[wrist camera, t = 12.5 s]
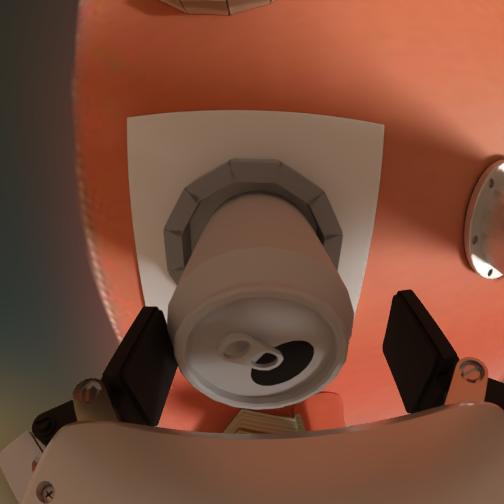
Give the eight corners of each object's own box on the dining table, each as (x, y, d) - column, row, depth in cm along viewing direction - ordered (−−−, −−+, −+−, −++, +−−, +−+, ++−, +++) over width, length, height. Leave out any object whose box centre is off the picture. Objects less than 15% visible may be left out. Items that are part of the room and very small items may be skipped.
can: (263, 301, 22) (270, 436, 11) (185, 246, 20) (123, 366, 9) (330, 233, 20) (403, 345, 9) (250, 165, 18) (244, 215, 7)
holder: (381, 124, 17) (401, 124, 14) (347, 331, 24) (356, 353, 21) (130, 117, 17) (110, 116, 14) (152, 326, 24) (142, 348, 21)
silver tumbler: (357, 393, 28) (388, 502, 15) (325, 423, 31) (343, 521, 17) (308, 385, 27) (328, 512, 14) (279, 416, 30) (286, 526, 16)
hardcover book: (329, 456, 37) (332, 476, 33) (210, 441, 34) (208, 464, 30) (373, 422, 33) (380, 444, 29) (240, 403, 29) (238, 432, 25)
